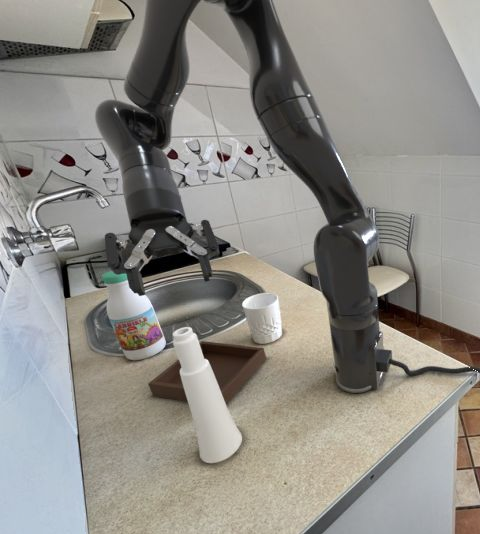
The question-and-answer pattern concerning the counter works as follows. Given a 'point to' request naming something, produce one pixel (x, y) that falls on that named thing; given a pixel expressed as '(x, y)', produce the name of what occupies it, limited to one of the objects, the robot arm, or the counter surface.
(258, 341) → the white cup
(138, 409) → the counter surface
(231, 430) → the cosmetic bottle
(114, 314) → the milk bottle
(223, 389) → the tray
